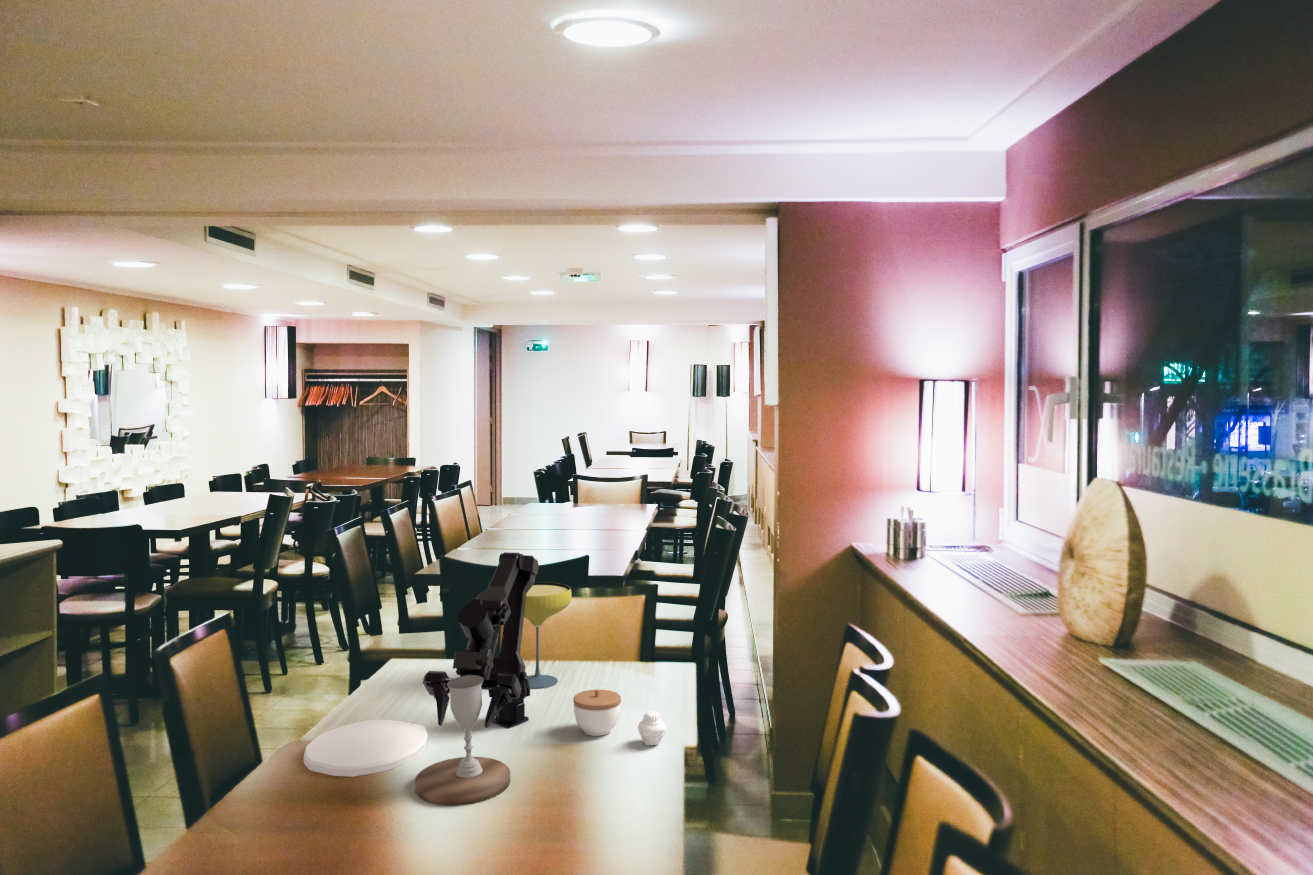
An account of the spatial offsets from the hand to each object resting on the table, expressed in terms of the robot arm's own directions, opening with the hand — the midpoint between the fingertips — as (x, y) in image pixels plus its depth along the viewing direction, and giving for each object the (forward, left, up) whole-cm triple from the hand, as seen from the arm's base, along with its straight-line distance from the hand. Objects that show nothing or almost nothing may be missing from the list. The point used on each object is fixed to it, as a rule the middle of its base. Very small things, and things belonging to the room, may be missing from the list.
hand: (462, 725), depth 161 cm
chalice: (0, +2, -10) cm, 10 cm away
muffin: (+17, +38, -12) cm, 43 cm away
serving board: (0, 0, -11) cm, 11 cm away
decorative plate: (-29, -2, -12) cm, 32 cm away
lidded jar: (+3, +36, -12) cm, 38 cm away
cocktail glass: (-32, +52, -12) cm, 62 cm away
